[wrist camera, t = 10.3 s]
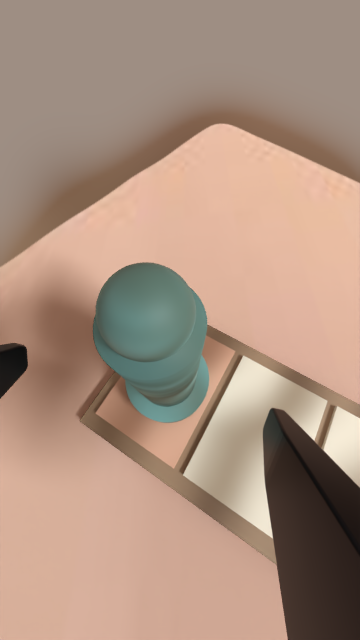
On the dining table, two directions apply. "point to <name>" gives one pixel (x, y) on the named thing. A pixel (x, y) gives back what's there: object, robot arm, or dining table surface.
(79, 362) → the dining table surface
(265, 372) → the game board
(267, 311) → the dining table surface
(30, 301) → the dining table surface
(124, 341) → the pawn
